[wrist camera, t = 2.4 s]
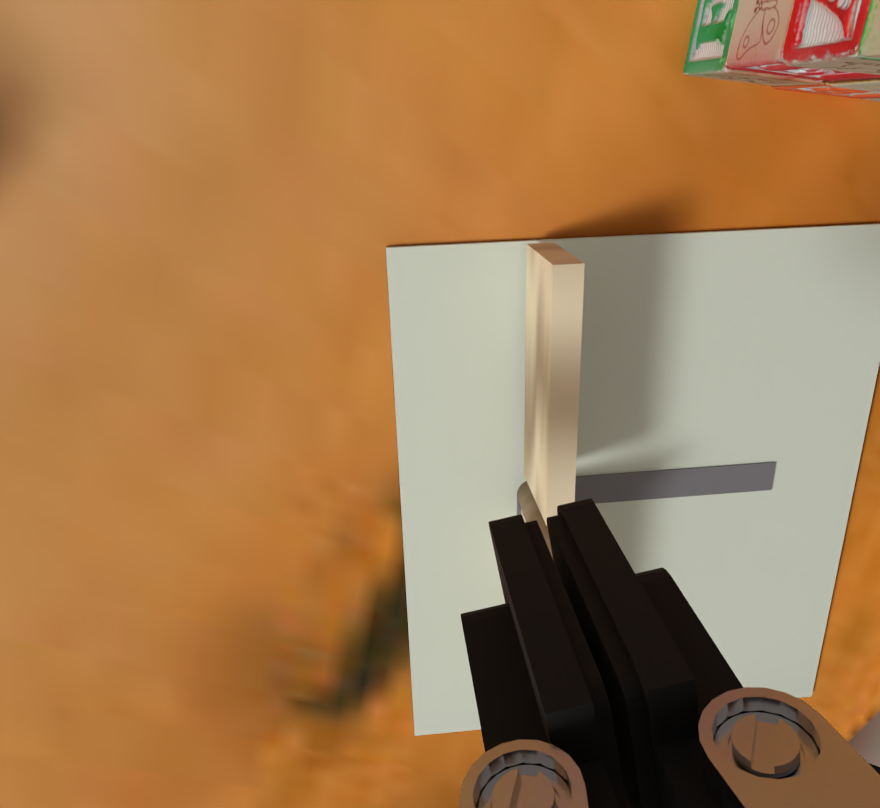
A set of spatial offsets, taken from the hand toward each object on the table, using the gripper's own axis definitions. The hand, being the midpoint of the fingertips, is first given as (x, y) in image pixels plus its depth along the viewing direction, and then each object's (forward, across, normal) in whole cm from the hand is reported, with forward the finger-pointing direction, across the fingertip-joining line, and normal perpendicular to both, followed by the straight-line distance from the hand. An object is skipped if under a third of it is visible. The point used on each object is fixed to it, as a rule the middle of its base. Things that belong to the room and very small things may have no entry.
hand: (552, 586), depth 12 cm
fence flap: (+14, -3, +2) cm, 14 cm away
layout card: (+15, -5, +9) cm, 18 cm away
